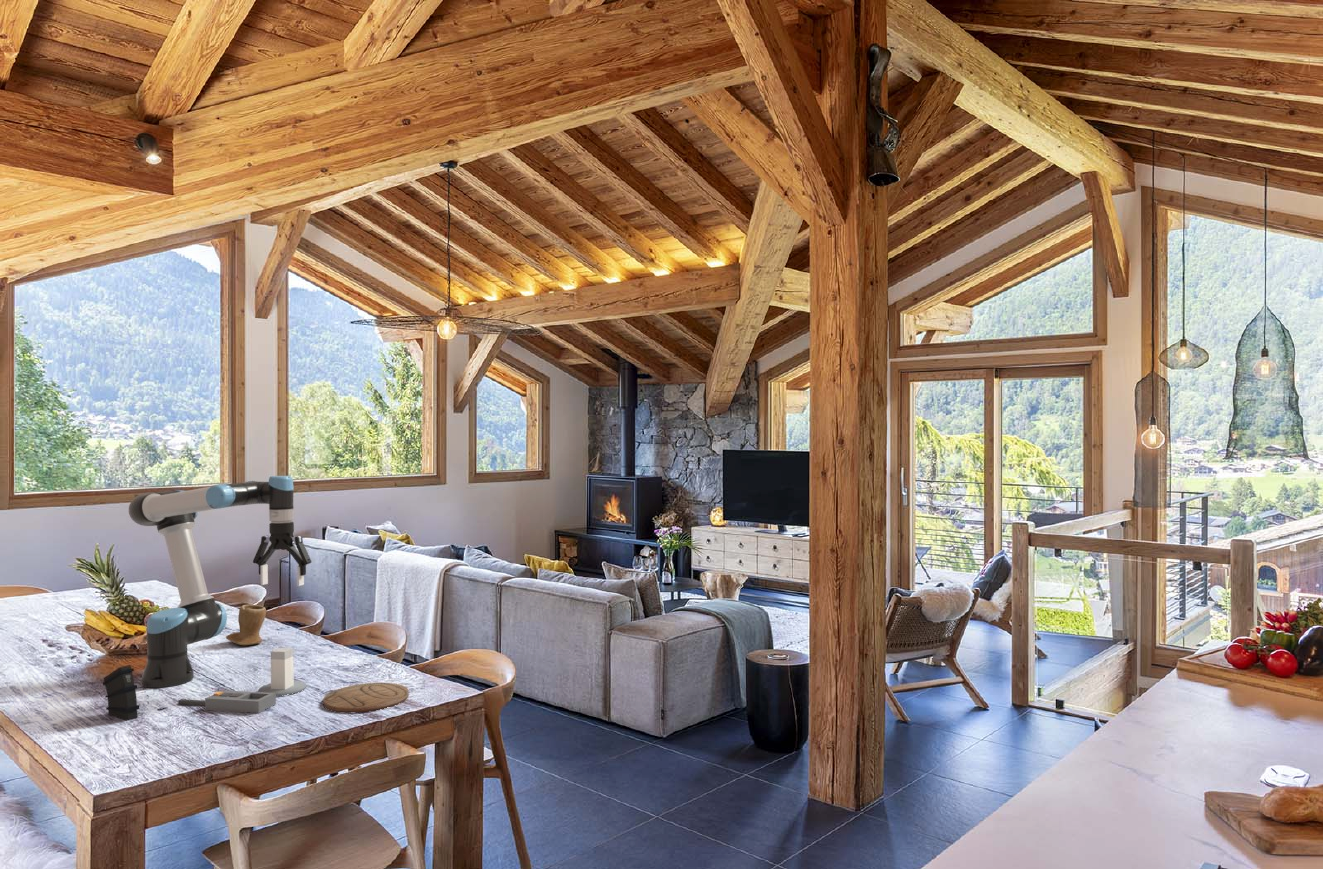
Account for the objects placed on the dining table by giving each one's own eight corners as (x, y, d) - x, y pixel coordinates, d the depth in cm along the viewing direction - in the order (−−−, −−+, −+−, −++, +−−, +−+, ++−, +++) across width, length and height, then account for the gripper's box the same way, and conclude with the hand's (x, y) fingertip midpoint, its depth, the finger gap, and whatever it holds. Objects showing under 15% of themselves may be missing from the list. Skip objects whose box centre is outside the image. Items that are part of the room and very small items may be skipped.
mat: (250, 691, 274) (250, 688, 274) (293, 681, 284) (293, 678, 284) (270, 699, 265) (270, 696, 265) (314, 689, 275) (314, 686, 275)
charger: (271, 688, 273) (270, 651, 273) (279, 684, 277) (279, 647, 277) (285, 689, 272) (284, 651, 272) (293, 685, 276) (293, 648, 276)
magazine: (131, 717, 244) (118, 667, 248) (110, 729, 251) (98, 680, 254) (145, 713, 248) (132, 664, 251) (124, 725, 254) (112, 677, 257)
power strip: (170, 707, 258) (170, 694, 258) (189, 699, 266) (189, 686, 266) (258, 713, 252) (258, 699, 252) (275, 704, 260) (275, 691, 260)
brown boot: (271, 643, 336) (270, 605, 336) (239, 649, 327) (238, 610, 327) (256, 637, 346) (255, 600, 346) (225, 642, 338) (224, 604, 338)
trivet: (348, 720, 246) (348, 713, 246) (308, 702, 263) (308, 695, 263) (424, 699, 265) (424, 693, 265) (382, 683, 282) (382, 677, 282)
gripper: (241, 522, 285) (241, 585, 285) (308, 523, 280) (309, 587, 281) (255, 520, 293) (256, 581, 293) (321, 520, 288) (322, 583, 288)
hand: (282, 584), depth 287 cm, fingers open, 13 cm apart
